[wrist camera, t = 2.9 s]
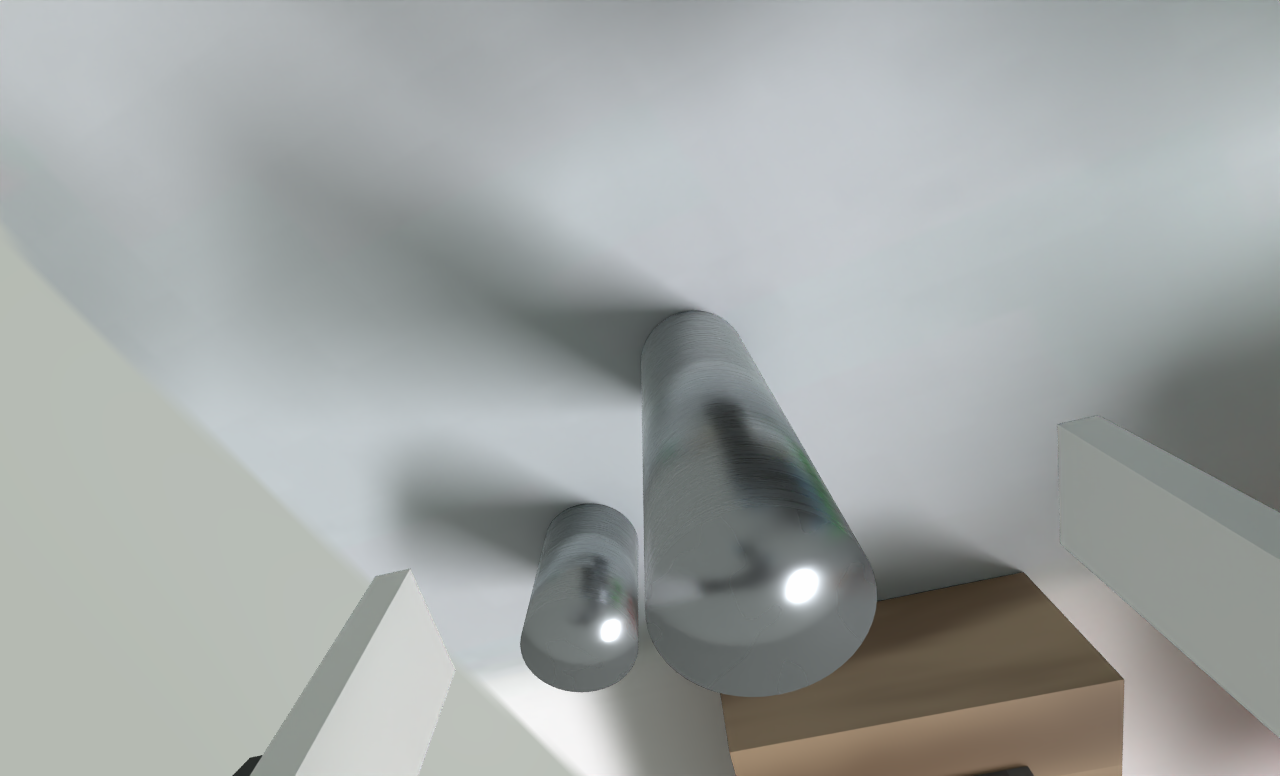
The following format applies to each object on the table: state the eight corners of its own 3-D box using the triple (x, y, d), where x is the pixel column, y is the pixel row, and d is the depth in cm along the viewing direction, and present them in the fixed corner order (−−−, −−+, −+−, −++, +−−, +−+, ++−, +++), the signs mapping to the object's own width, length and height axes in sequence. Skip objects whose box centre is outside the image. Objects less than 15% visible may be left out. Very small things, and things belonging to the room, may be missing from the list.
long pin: (629, 325, 23) (619, 536, 10) (733, 299, 23) (861, 484, 10) (654, 420, 25) (673, 714, 12) (753, 396, 24) (889, 673, 11)
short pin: (533, 515, 26) (504, 612, 21) (624, 494, 26) (621, 587, 20) (560, 591, 28) (540, 701, 22) (647, 572, 27) (650, 679, 22)
